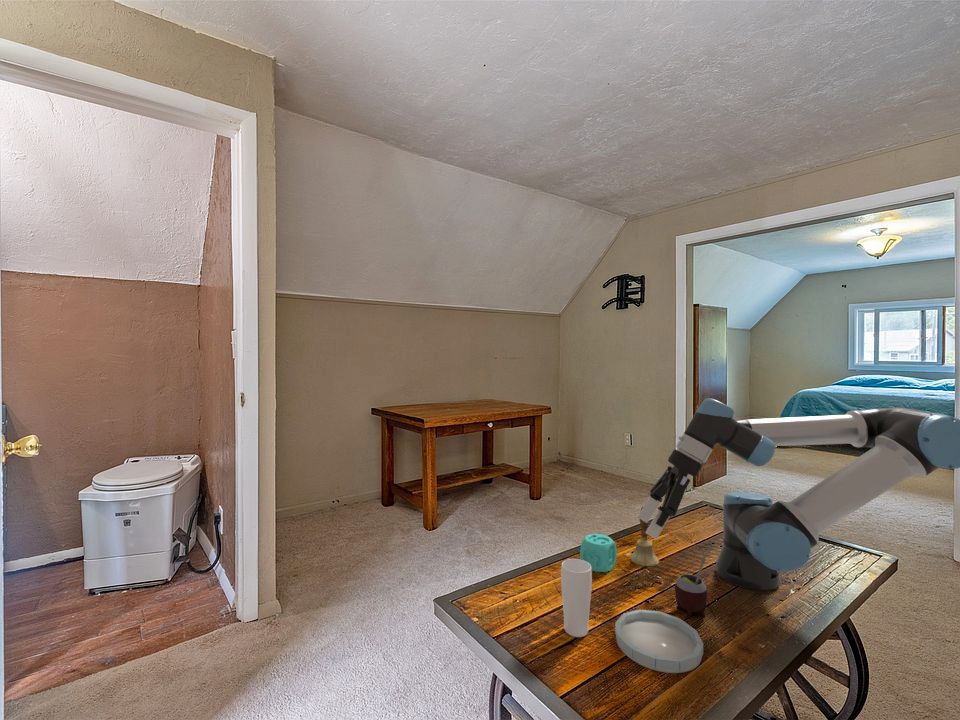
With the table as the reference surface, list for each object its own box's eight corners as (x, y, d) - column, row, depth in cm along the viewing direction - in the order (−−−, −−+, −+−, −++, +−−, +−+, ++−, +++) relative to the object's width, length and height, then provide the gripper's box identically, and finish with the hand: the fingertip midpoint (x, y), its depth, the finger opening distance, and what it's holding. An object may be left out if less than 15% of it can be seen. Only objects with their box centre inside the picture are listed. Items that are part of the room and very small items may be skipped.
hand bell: (637, 567, 131) (638, 513, 130) (625, 554, 139) (625, 503, 138) (664, 565, 132) (665, 511, 131) (650, 553, 140) (650, 502, 140)
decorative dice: (591, 557, 137) (592, 531, 137) (617, 565, 132) (617, 538, 132) (579, 567, 131) (579, 539, 131) (605, 575, 126) (605, 547, 126)
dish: (687, 624, 104) (687, 613, 104) (713, 677, 87) (714, 665, 87) (611, 617, 106) (611, 607, 106) (622, 667, 90) (622, 655, 90)
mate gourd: (672, 614, 108) (672, 552, 107) (678, 599, 114) (679, 540, 114) (706, 625, 103) (707, 560, 103) (711, 608, 110) (712, 548, 109)
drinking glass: (592, 642, 97) (592, 574, 97) (560, 638, 99) (560, 571, 98) (591, 623, 104) (591, 559, 104) (561, 620, 105) (561, 557, 105)
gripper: (665, 442, 127) (627, 507, 128) (687, 454, 102) (639, 534, 103) (690, 456, 125) (651, 521, 126) (718, 472, 101) (670, 553, 102)
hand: (646, 527), depth 115 cm, fingers open, 13 cm apart
